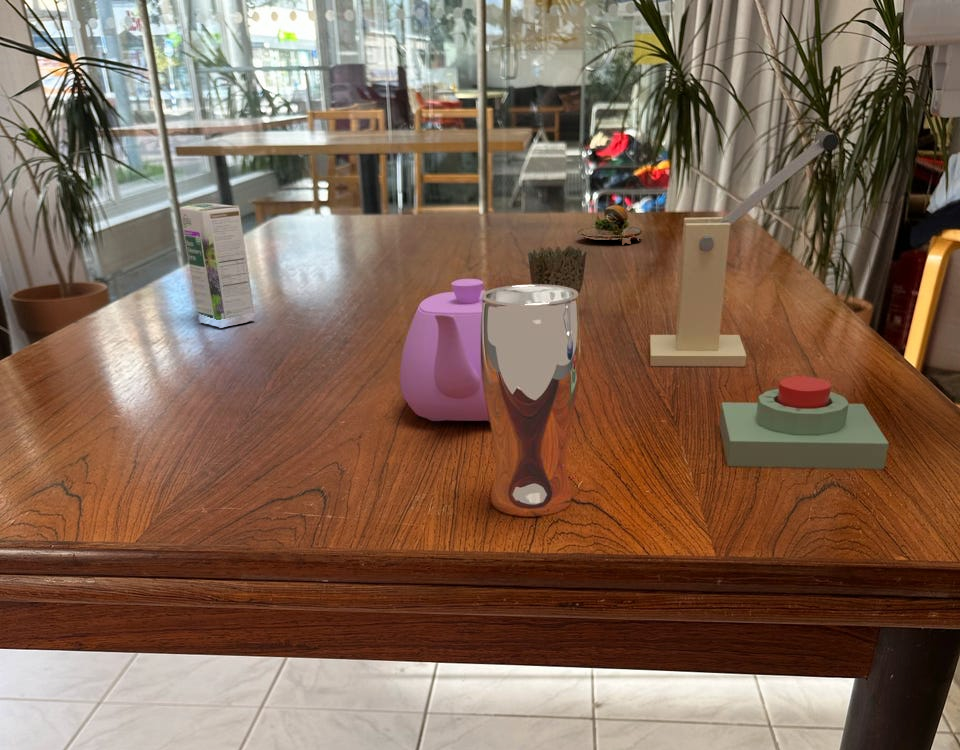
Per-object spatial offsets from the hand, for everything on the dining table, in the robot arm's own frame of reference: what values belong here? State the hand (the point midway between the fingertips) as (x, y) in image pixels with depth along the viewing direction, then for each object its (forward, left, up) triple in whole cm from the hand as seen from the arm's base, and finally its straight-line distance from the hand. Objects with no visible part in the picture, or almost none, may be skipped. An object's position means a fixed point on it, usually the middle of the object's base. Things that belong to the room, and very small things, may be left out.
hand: (946, 116), depth 71 cm
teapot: (+38, -1, -24) cm, 45 cm away
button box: (+9, +7, -24) cm, 26 cm away
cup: (+33, -42, -24) cm, 59 cm away
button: (+9, +7, -20) cm, 23 cm away
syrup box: (+77, -38, -24) cm, 89 cm away
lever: (+10, -22, -8) cm, 26 cm away
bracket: (+16, -22, -24) cm, 36 cm away
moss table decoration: (+28, -102, -24) cm, 109 cm away
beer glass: (+30, +20, -24) cm, 43 cm away
